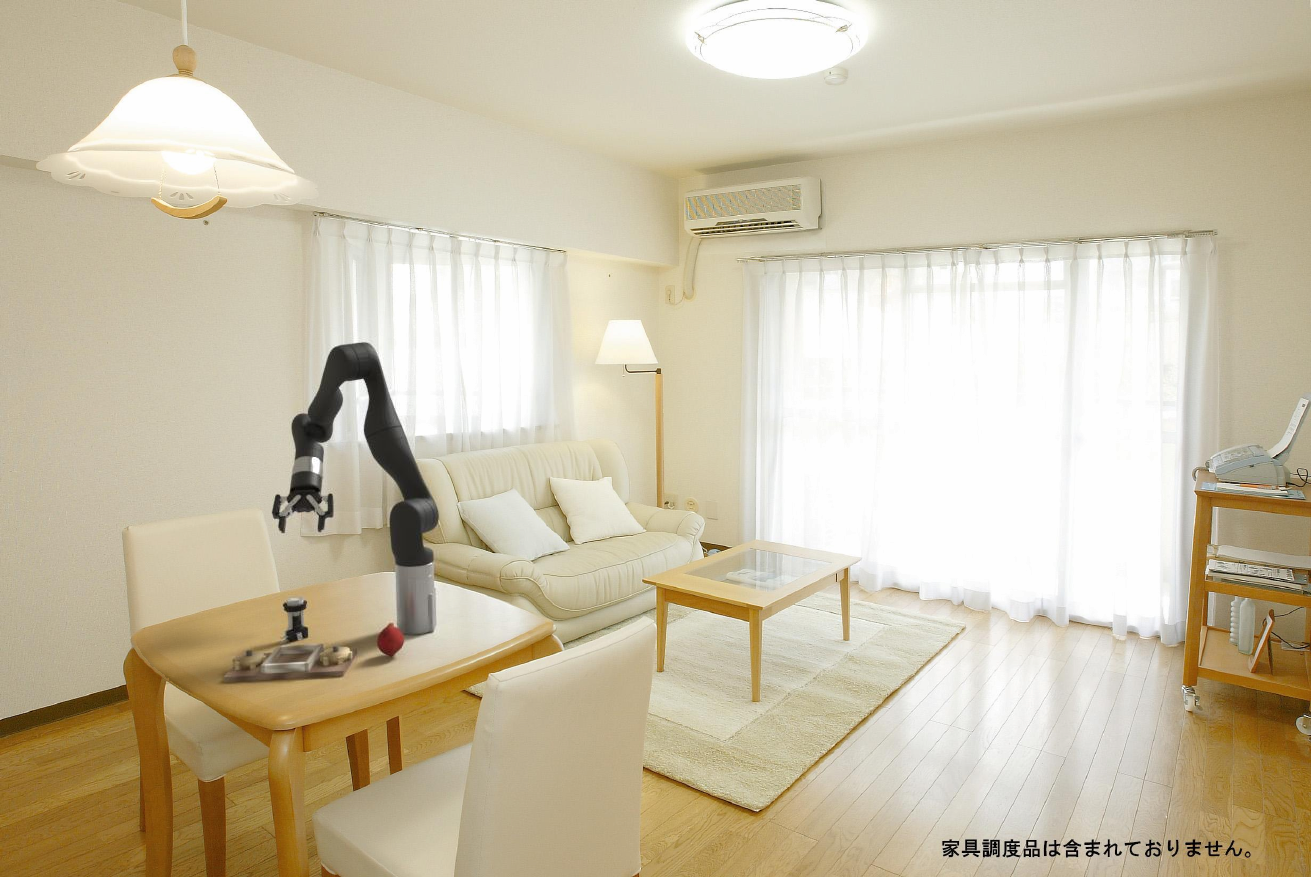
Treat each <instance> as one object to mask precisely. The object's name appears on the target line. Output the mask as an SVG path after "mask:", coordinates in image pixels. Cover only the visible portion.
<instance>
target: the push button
mask: <svg viewBox="0 0 1311 877" xmlns="http://www.w3.org/2000/svg"><path fill="white" fill-rule="evenodd" d="M307 605H308V601H307V600H305V599H304V598H303V597H301V596H294V597H290V598H287V599H286V601H285V602H284V603H282V607H283V611H284V612H286V613H287V626H288V627H287V630H286V629H285V631H284V636H282V637H280V639H281V640H280V643H285V642H287V643H290V644H291V643H293V642H296V641H297V642H298V641H301V640H304V639H308V638H309V627H307V626H305V625H306V624H305V623H304V622H305V621H304V620H305V619H304V610H306V609H307ZM282 639H284V640H282Z"/></svg>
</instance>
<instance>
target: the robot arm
mask: <svg viewBox="0 0 1311 877" xmlns="http://www.w3.org/2000/svg"><path fill="white" fill-rule="evenodd" d="M321 376H322V377H321V379H320V385H319V388H318V390H317V392H316V393H315V396H314V397H313V399H312V401H311V403H310V405H309V407H308V408H307V413H304V412H303V413H302V412H301V413H298V414H297V415H295V416H294V417H293V419H292V422H291V427H290V428H291V430H290V431H291V435H292V438H293V443H294V450H295V454H294V461H293V466H292V470H291V476H290V477H291V478H290V486H289V493H288V495H287V496H281V494H279V493H277V494H275V495H274V501H273V506H272V510H271V514H272V517H273V518H272V519H274V520H276V519H277V520H278V525H277V527H278V531H279V532H281V534H285V533H286V526H287V519H288V518H290V517H291V516H293V515H294V514H295V513H296V512H297V513H298V514H300V513H311V512H314V513H315V515H316V516H318V520H317V532H318V533H322V531H324V530H325V526H326V519H328V518H330V519H331V518H334V510H335V508H334V507H335V506H334V503H335V502H334V495H333V493H328V494H327V495H322V486H323V480H324V457H325V449H324V446H323V445H321V444H324V443H326V442H328V441H330V440H331V438H332V436H333V432H334V431H333V430H334V421H335V419H336V417H337V415H338V414H339V412H340V411H341V409H342V406H343V402H344V397H343V393H342V391H341V389H340V387H341V386H342V385H343V384H344V383H346V382H352V381H358V380H359V381H360V380H363V381H364V384H365V386H366V389H367V391H366V392H367V394H368V404H367V409H366V414H365V418H364V423H363V435H364V438H365V440H366V443H367V445H368V448H369V450H370V453H371V455H372V457H373V460H375V462H376V463H377V464H378V465H379V466H380V467H381V468H382V469H383V470H384V471H385V472H386V474H388V475H389V477H391V478H392V480H393V481H394V482H395V483H396V485H397V486H398V488H399V490H400V493H401V495H402V498H403V500H401V501H399V502H397V503H395V504H394V505H393V507H392V508H391V510H390V513H389V537H390V546H391V552H392V554H393V557H394V563H395V564H394V566H395V602H396V605H395V606H396V608H395V609H396V628H398V629H399V630H400V631H401V632H402V634H403V635H409V636H410V635H420V634H421V635H422V634H427V633H430V632H434V631H435V628H436V626H437V593H436V592H437V588H436V587H435V560H434V558H435V557H434V555H435V554H434V550H433V549H431V548H430V547H427V546H424V540H423V539H424V537H423V535H424V534H425V533H428V532H431V531H434V529H435V528H437V525H438V523H439V520H440V514H439V510H438V508H439V507H438V506H437V503H436V502H435V499H434V497H433V495H432V493H431V492H430V489H429V487H428V486H427V484H426V481H425V479H424V478H423V476H422V473H421V472H420V469H419V466H418V464H417V462H416V460H415V456H414V455H413V452H412V449H411V446H410V444H409V441H408V438H407V435H406V433H405V430H404V428H403V425H402V422H401V420H400V418H399V415H398V414H397V411H396V408H395V405H394V402H393V400H392V398H391V395H390V391H389V388H388V385H387V381H386V378H385V374H384V371H383V367H382V364H381V360H380V357H379V355H378V352H377V351H376V348H374V346H373V345H372V344H371V343H370V342H368V341H367V342H366V341H363V342H353V343H346V344H339V345H336V346H334V347H333V348H331V350H330V352H329V353H328V356H327V358H326V361H325V365H324V369H323V372H322V375H321ZM323 501H324V504H326V505H327V510H325V511H324V510H323V508H322V507H321V505H320V504H322V503H323ZM286 502H287V505H285V507H284V509H283V510H282V511H281V506H283V505H284V504H285V503H286ZM280 511H281V512H280Z"/></svg>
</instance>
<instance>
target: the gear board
mask: <svg viewBox="0 0 1311 877" xmlns="http://www.w3.org/2000/svg"><path fill="white" fill-rule="evenodd" d="M357 655H358V648H349V647H347V646H340V645H334V646H332V647H329V648H326V649H324V643H308V644H307V643H306V644H289V645H288V644H287V645H285V644H284V645H277V647H276V648H275V649H274V650H273V651H272V652H264V651H262V650H252V649H248V650H245V651H243V652H241V653H238V654H237V655H235V656H234V657H232V667H231V669H229V671H228V672H226V673H225V675H224V676H223V677H222V678H223V683H226V684H227V683H239V682H240V683H242V682H243V683H244V682H258V681H259V682H260V681H278V680H296V679H299V680H300V679H312V678H313V679H315V678H333V677H336V678H337V677H344V676H345V675H346V673H347V671H348V670H349V668H350V667H351V664H352V663H353V662H354V660H355V659H356V656H357Z"/></svg>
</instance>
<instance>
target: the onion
mask: <svg viewBox="0 0 1311 877" xmlns="http://www.w3.org/2000/svg"><path fill="white" fill-rule="evenodd" d="M404 643H405V636H404V634H402V632H401V631H400V630H399V629H398V628H397V626H395V625H394V622H393V621H391V622H389V623H388V624H386V626H385V627H384V628H383V629H381V631H380V632H379V634H378V635H377V639H376V646H377V648H378V650H379V652H381V653H382V654H383V655H385V656H388V657H389V658H390V657H394V656H395V655H396V654H397V653H398V652H399V651H401V649H402V648H403V646H404Z"/></svg>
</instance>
